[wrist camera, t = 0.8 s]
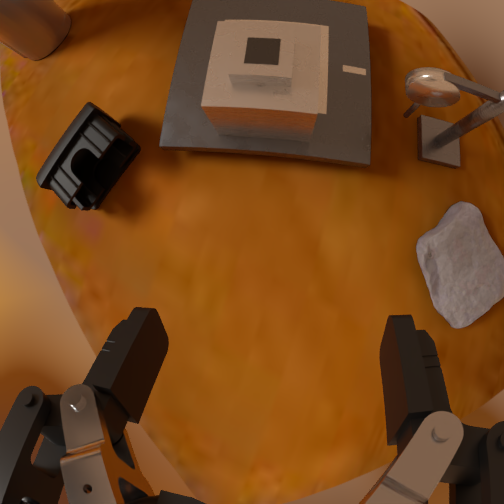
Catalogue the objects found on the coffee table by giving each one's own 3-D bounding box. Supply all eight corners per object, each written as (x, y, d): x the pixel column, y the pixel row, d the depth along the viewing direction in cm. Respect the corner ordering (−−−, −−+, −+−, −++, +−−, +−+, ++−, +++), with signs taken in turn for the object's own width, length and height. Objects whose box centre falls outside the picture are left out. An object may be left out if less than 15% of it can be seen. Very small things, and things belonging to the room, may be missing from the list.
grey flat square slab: (164, 150, 31) (158, 146, 29) (196, 3, 30) (193, -4, 28) (366, 168, 29) (370, 164, 27) (363, 13, 28) (366, 6, 26)
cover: (218, 134, 28) (195, 97, 20) (230, 60, 28) (214, 10, 20) (309, 142, 28) (320, 105, 19) (314, 66, 27) (322, 15, 19)
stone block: (443, 328, 32) (503, 279, 30) (455, 343, 28) (521, 287, 25) (394, 248, 33) (459, 196, 30) (402, 253, 29) (475, 195, 26)
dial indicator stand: (369, 150, 31) (422, 95, 17) (370, 108, 30) (416, 38, 16) (455, 168, 30) (533, 136, 16) (453, 128, 30) (524, 82, 15)
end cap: (109, 114, 33) (79, 94, 26) (145, 145, 33) (118, 126, 26) (61, 180, 34) (26, 171, 27) (93, 215, 34) (58, 210, 27)
